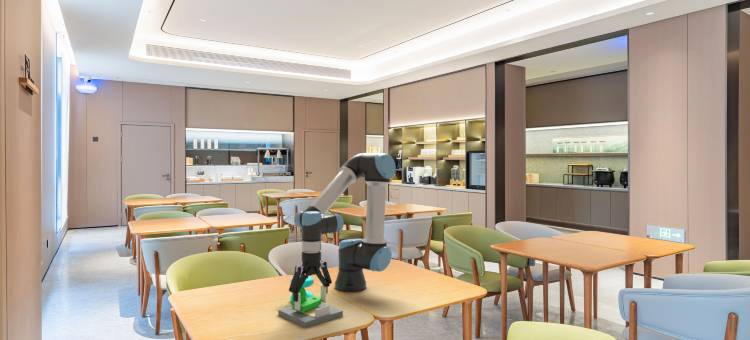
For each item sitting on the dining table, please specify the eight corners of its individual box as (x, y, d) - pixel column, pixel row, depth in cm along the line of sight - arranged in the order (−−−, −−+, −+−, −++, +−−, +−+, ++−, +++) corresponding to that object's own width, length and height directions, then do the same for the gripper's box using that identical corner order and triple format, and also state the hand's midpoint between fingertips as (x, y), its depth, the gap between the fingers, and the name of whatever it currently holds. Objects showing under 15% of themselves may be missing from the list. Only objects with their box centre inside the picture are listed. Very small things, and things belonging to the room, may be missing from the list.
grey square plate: (315, 304, 187) (315, 292, 187) (342, 315, 174) (343, 303, 174) (278, 314, 175) (278, 302, 174) (305, 327, 162) (305, 314, 162)
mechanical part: (303, 311, 169) (303, 291, 169) (292, 308, 172) (292, 288, 172) (324, 303, 179) (324, 283, 179) (313, 300, 182) (313, 281, 182)
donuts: (307, 282, 186) (286, 279, 189) (306, 305, 186) (285, 302, 189) (317, 276, 195) (297, 273, 198) (317, 298, 195) (297, 296, 199)
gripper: (329, 245, 185) (328, 297, 186) (279, 254, 168) (279, 310, 169) (341, 248, 180) (340, 301, 180) (290, 257, 163) (290, 315, 163)
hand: (310, 305), depth 174 cm, fingers closed on mechanical part, 12 cm apart
